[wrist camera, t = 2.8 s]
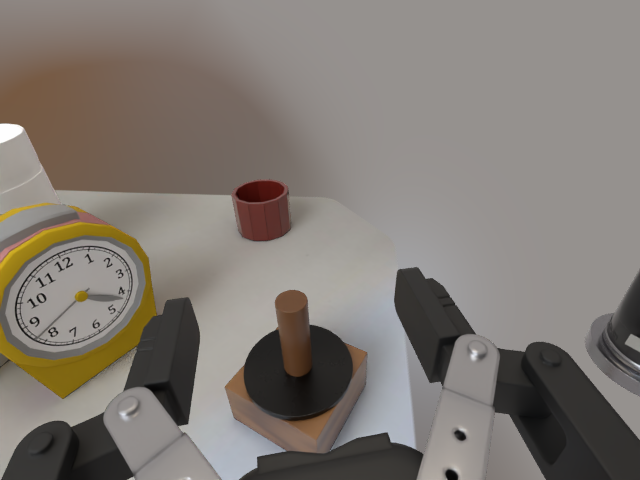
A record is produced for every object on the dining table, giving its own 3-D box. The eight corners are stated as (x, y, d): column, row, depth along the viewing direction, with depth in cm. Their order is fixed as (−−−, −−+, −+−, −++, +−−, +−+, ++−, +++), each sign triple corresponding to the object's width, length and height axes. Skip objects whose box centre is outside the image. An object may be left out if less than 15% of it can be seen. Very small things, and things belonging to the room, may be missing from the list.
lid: (370, 351, 35) (374, 283, 30) (317, 444, 28) (311, 374, 23) (285, 315, 40) (277, 251, 35) (221, 387, 32) (199, 319, 28)
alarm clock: (47, 416, 36) (-70, 271, 26) (15, 375, 40) (-97, 237, 30) (174, 322, 46) (126, 191, 36) (138, 298, 50) (85, 174, 40)
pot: (300, 220, 66) (298, 185, 62) (270, 246, 59) (265, 208, 56) (260, 209, 70) (255, 175, 66) (228, 232, 64) (220, 196, 60)
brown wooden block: (365, 383, 38) (367, 352, 35) (318, 470, 31) (316, 440, 28) (289, 348, 42) (285, 317, 39) (233, 418, 35) (224, 386, 33)
